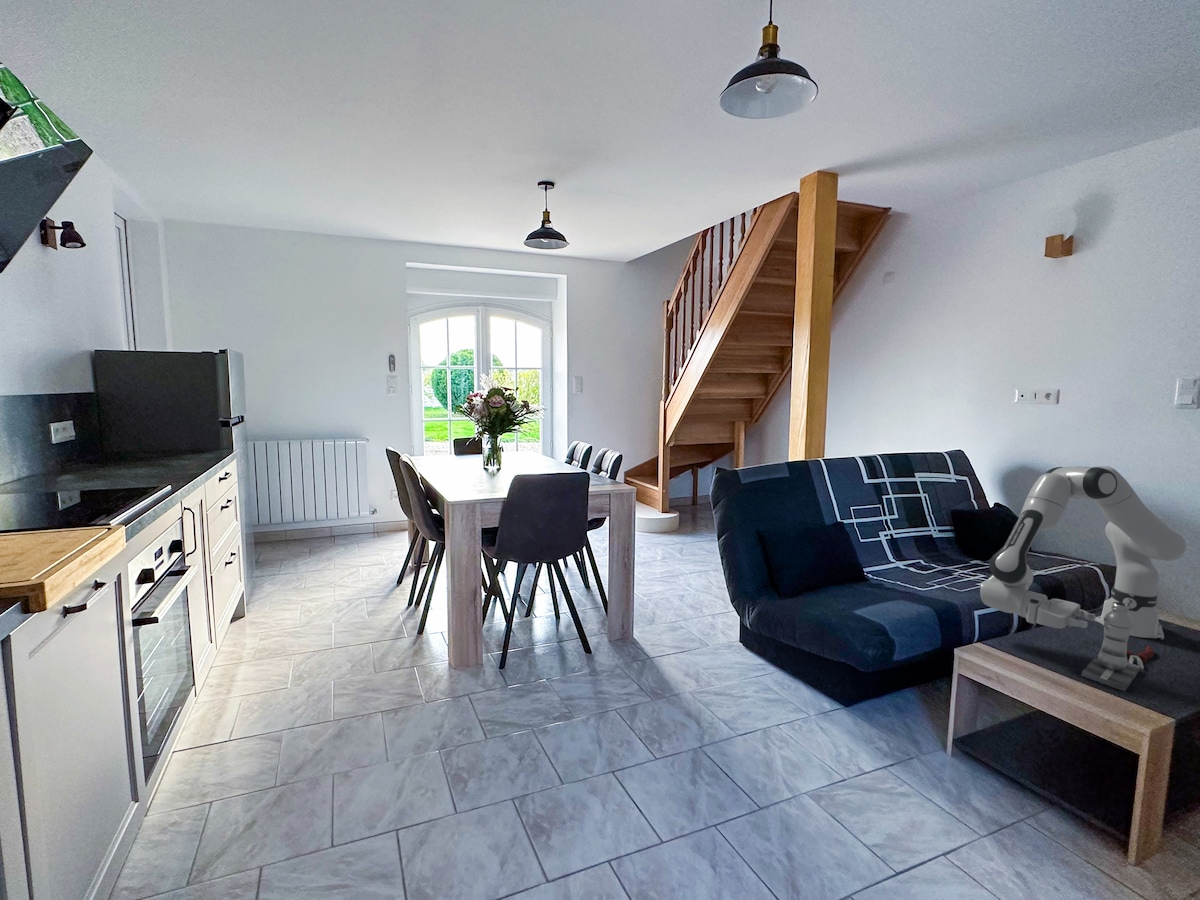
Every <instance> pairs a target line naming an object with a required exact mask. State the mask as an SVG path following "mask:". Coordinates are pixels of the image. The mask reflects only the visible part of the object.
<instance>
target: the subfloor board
mask: <svg viewBox="0 0 1200 900" xmlns="http://www.w3.org/2000/svg"><path fill="white" fill-rule="evenodd" d="M1098 655H1099V653H1098V654H1096V656H1095V657H1094V658H1093V659H1092V660H1091V661H1090V662H1089V663H1088V664H1087V666H1085V668H1083V670H1082V671H1081V675H1082V676H1085V677H1087V678H1090V679H1092V680H1091V681H1093V680H1095V681H1094V682H1096V681H1098V682H1097V683H1099V682H1100V684H1103V685H1105V684H1106V686H1108V687H1112V688H1114V689H1118V690H1120V691H1123V692H1126V691H1127V689H1128V688H1129V687H1130V685H1131V683H1133V681H1134V679H1135V678H1136V676H1138V674H1139V672H1140V671H1141V667H1140V666H1138V665H1137V664H1134V663H1133V664H1131V663H1129V661H1127V666H1126V669H1124V670H1123V671H1116V670H1112V669H1108V668H1106V667H1104V666H1102V665H1101V664H1100V663H1099V661H1098ZM1081 675H1080V676H1081ZM1087 678H1086V679H1087ZM1090 679H1089V680H1090Z"/></svg>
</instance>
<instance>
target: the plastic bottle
mask: <svg viewBox="0 0 1200 900" xmlns="http://www.w3.org/2000/svg"><path fill="white" fill-rule="evenodd" d="M1112 609H1113V610H1112V611H1110V612H1109V613H1107V614H1106V615H1105V617H1104V625H1103V641H1102V645H1101V648H1100V650H1099V653H1098V654H1099V655H1098V654H1097V655H1098V661H1099V663H1100V664H1101V665H1102V666H1104V667H1106V668H1108V669H1112V670H1116V671H1123V670H1124V669H1126V666H1127V662H1128V659H1127V650H1128V649H1127V648H1128V642H1129V638H1130V636H1131V635H1130V632H1131V629H1132V626H1133V624H1132V621H1131V619H1130V617H1129V616H1128V614H1127V613H1128V612H1129V605H1127V604H1124V603H1120V602H1113V605H1112Z"/></svg>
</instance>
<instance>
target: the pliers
mask: <svg viewBox="0 0 1200 900" xmlns="http://www.w3.org/2000/svg"><path fill="white" fill-rule="evenodd" d="M1154 655H1155V652H1154V650H1153V649H1152V647H1151V646H1148V645H1147V646H1146V648H1145V651H1142V652H1137V653H1135V654H1134V653H1133V652H1132V651H1130V650H1128V649H1127V660H1128V663H1131V664H1134V663H1136V665H1138V666H1140V669H1142V670H1145V669H1144V668H1145V666H1144V664H1146V663H1147V660H1149V659H1151V658H1153V657H1154Z"/></svg>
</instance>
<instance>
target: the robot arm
mask: <svg viewBox="0 0 1200 900" xmlns="http://www.w3.org/2000/svg"><path fill="white" fill-rule="evenodd" d="M1070 499H1077V500H1078V499H1079V500H1080V499H1081V500H1082V499H1083V500H1084V499H1085V500H1087V499H1088V500H1089V499H1092V500H1094V502H1095V504H1096V506H1098V508H1099V509H1100V511H1101V512H1102V514H1103V515H1104V517H1105V518H1106V520H1107V521H1108V522H1107V524H1106V526H1105V528H1104V534H1105V536H1106V538H1107V539H1108V541H1109V542H1110V544H1111V546H1112V548H1113V551H1114V556H1115V560H1116V561H1115V562H1116V572H1115V580H1114V585H1113V586H1112V589H1111V591H1110V593H1111V594H1110V596H1111V597H1110V598H1108V599H1106V600H1104V602H1103V606H1102V607H1103V608H1102V612H1101V615H1099V616H1096V614H1094V613H1090V612H1088V611H1086V610H1084V609H1081V604H1079V603H1076V602H1073V601H1068V600H1064V599H1060V598H1051V599H1048V596H1047V595H1046V594H1043V593H1038V592H1036V591H1032V590H1029V589H1030V587H1031V586H1032V584H1033V581H1034V573H1033V570H1032V568H1030V566H1029V565H1028V564H1027V553H1028V552H1029V551H1030V547H1031V546H1032V544H1033V543H1034V542H1033V541H1034V540H1035V538H1036V536H1037V535H1038V534H1039V533H1040V532H1041V531H1048V530H1052V529H1054V528H1055V527H1056V526H1057V525H1058V523H1059V522H1060V521H1061V519H1062V518H1063V515H1064V513H1065V510H1066V509H1067V506H1068V503H1069V500H1070ZM1186 550H1187V542H1186V539H1185V538H1184V537H1183V536H1182V535H1181V534H1179V533H1177V532H1175V530H1173V529H1172V528H1170V527H1169V526H1167V524H1165V523H1164V522H1163V521H1162V520H1161V519H1160V518H1159V517H1157V516H1156V515H1155V514H1154V513H1153V512H1152V511H1151V510H1150V509H1149V508H1148V507H1147V506H1146V504H1144V502H1143V501H1142V500H1141V498H1140V497H1139V496H1138V494H1137V493H1136V491H1135V490H1134V489H1133V487H1132V486H1131V485H1130V483H1129V482H1128V481H1127V479H1126V478H1125V477H1124V476H1123V475H1122V474H1121V473H1120V472H1119V471H1117V470H1116V469H1115V468H1113V467H1111V466H1105V465H1103V466H1102V465H1101V466H1085V465H1083V466H1082V465H1081V466H1080V465H1076V466H1058V467H1053V468H1051V469H1048V470H1047V471H1046V472H1045V473H1044V474H1042V475H1040V476H1039V477H1038V479H1036V481H1035V482H1034V484H1033V485H1032V487H1031V489H1030V490H1029V492H1028V495H1027V496H1026V498H1025V501H1024V504H1023V505H1022V508H1021V511H1020V513H1019V517H1018V519H1017V521H1016V522H1015V524H1014V526H1013V528H1012V530H1011V532H1010V534H1009V535H1008V538H1007V540H1006V541H1005V543H1004V545H1003V546H1002V547H1001V548H1000V549H999V550H997V552H995V553H994V554H993V555H992V556H991V558H990V559H989V564H988V567H989V571H990V573H991V574H992V575H991V576H990V577H988V578H987V579H985V580H983V581H982V582H980V583H981V584H980V586H979V598H980V599H981V601H982V603H983V605H986V606H987V607H990V608H992V609H995V610H998V611H1001V612H1004V613H1008V614H1015V615H1017V616H1020V618H1025V620H1026V622H1027V623H1029V624H1033V625H1034V624H1039V625H1042V626H1046V627H1049V628H1054V629H1064V628H1066V627H1067V626H1068V627H1077V628H1078V627H1079V628H1082V629H1086V628H1088V627H1089V626H1088V625H1089V622H1088V621H1092V622H1097V623H1099V624H1101V625H1102V626H1104V617H1105V615H1106V614H1107V613H1109V612H1110V611H1112V610H1113V609H1112V605H1113V602H1120V603H1124V604H1127V605H1129V612H1128V613H1127V614H1128V616H1129V617H1130V619H1131V621H1132V624H1133V626H1132V629H1131V632H1130V635H1129V636H1131V637H1136V638H1145V639H1157V638H1161V639H1160V640H1165V635H1164V631H1163V627H1162V625H1161V623H1160V622H1159V620H1160V613H1159V612H1158V610H1157V609H1156V607H1157V606H1156V605H1157V603H1158V596H1157V590H1158V584H1159V580H1160V575H1159V572H1158V570H1157V569H1156V567H1155V566H1154V564H1153V563H1152V560H1151V559H1153V560H1154V559H1155V560H1161V561H1168V562H1171V561H1176V560H1178V559H1181V558H1182V556H1183V555H1184V554H1185V552H1186ZM1076 617H1078V618H1084V619H1086V620H1087V621H1086V620H1083V619H1081V620H1079V619H1076Z"/></svg>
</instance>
